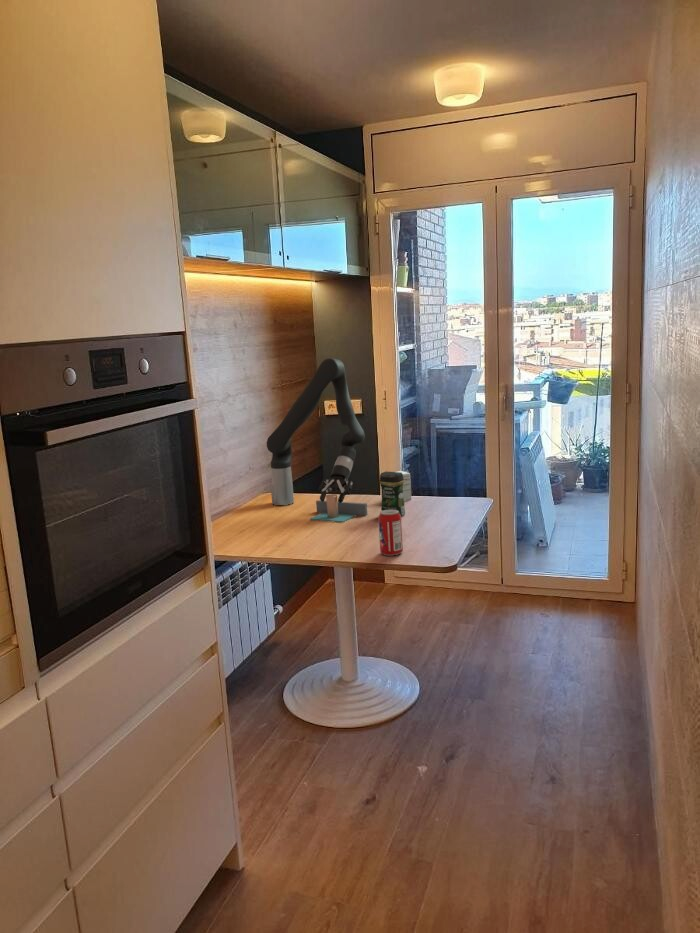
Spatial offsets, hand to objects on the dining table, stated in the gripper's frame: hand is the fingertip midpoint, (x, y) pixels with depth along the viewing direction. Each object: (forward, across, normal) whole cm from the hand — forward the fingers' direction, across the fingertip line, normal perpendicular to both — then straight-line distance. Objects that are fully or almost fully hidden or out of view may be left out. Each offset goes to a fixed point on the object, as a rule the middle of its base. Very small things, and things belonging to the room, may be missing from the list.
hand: (330, 501), depth 305 cm
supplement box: (-21, +15, +31) cm, 40 cm away
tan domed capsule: (+4, 0, +6) cm, 7 cm away
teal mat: (+4, 0, +6) cm, 7 cm away
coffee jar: (-2, +23, +13) cm, 27 cm away
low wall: (-1, 0, +11) cm, 11 cm away
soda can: (+31, +45, -20) cm, 58 cm away
